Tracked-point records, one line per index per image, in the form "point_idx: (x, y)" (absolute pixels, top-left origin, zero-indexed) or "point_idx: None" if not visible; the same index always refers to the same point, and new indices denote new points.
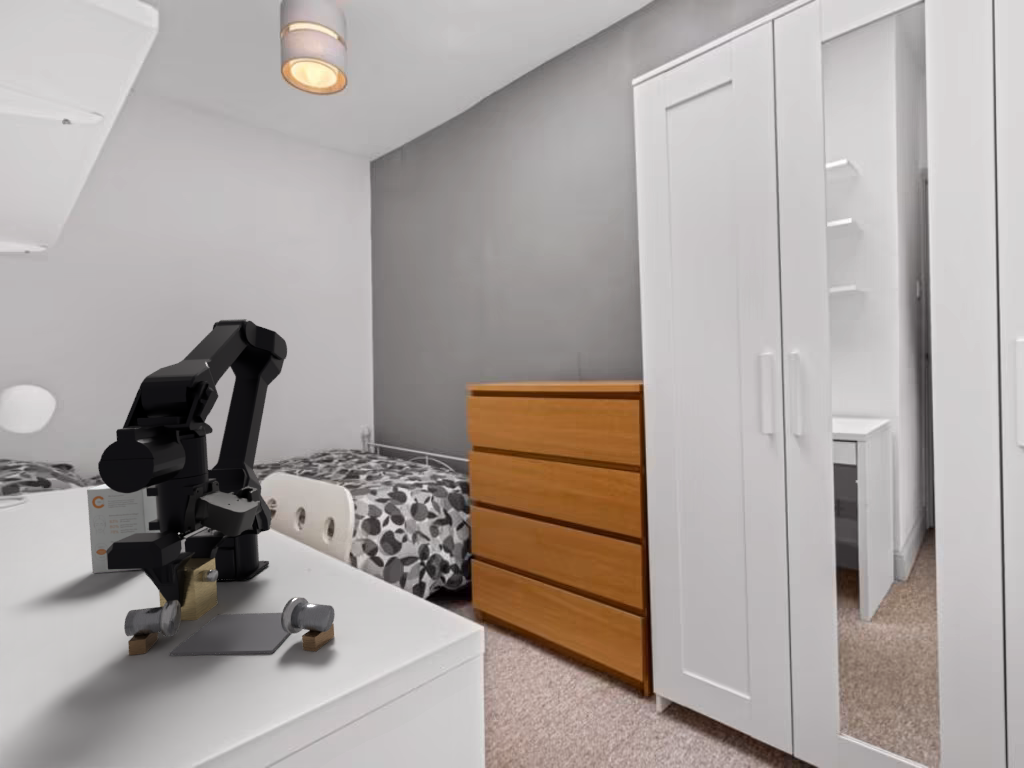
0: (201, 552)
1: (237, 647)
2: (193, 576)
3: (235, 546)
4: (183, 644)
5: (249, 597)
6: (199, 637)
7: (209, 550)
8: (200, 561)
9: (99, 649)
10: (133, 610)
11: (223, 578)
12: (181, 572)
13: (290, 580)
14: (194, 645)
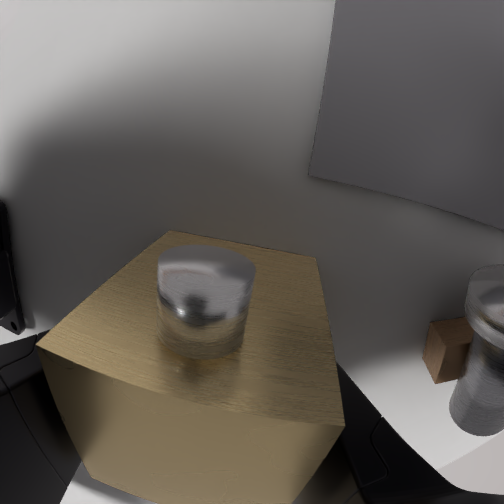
0: (31, 434)
1: None
2: (338, 391)
3: None
4: None
5: (124, 121)
6: (492, 185)
7: (4, 405)
8: (113, 422)
9: (413, 419)
10: (495, 428)
11: (11, 283)
12: (387, 467)
13: (25, 53)
14: None
